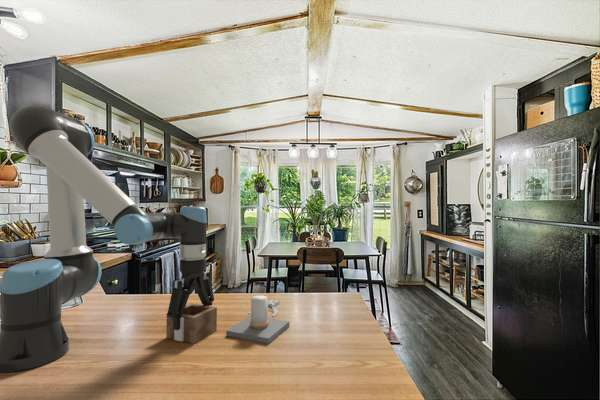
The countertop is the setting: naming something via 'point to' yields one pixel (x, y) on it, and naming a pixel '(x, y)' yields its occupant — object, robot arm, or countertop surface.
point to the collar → (195, 322)
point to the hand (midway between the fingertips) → (192, 333)
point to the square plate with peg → (258, 324)
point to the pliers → (272, 304)
